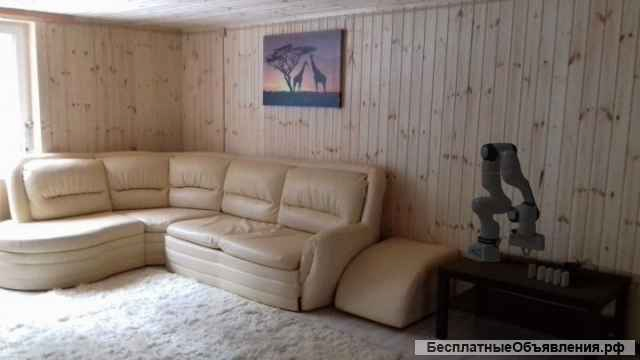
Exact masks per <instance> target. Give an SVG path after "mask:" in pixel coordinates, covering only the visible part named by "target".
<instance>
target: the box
mask: <svg viewBox="0 0 640 360" xmlns="http://www.w3.org/2000/svg"><path fill="white" fill-rule="evenodd" d="M580 271H581V264H580V263H577V262H576V261H575V262H574V261H564V264H563V272H569V279H572V278H580Z"/></svg>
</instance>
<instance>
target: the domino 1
mask: <svg viewBox="0 0 640 360" xmlns="http://www.w3.org/2000/svg"><path fill="white" fill-rule="evenodd" d="M536 267H537V264H536V263H531V264H528V270H527V278H530V279H531V278H535V277H536V271H537V270H536V269H537V268H536Z"/></svg>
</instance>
